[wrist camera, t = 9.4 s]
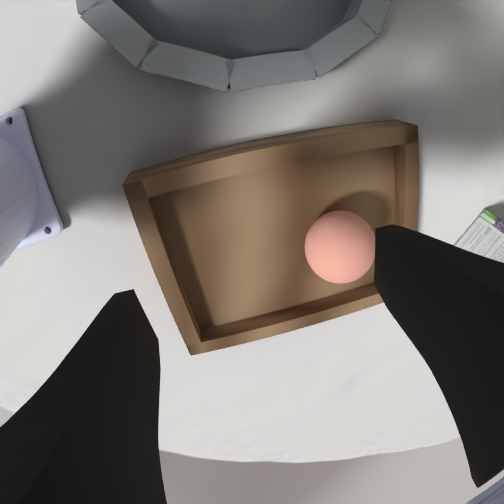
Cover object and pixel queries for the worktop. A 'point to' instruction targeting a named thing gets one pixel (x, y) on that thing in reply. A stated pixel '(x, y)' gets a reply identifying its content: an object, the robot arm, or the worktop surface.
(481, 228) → the syrup box
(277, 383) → the worktop surface
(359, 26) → the bowl
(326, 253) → the ball
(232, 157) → the tray
